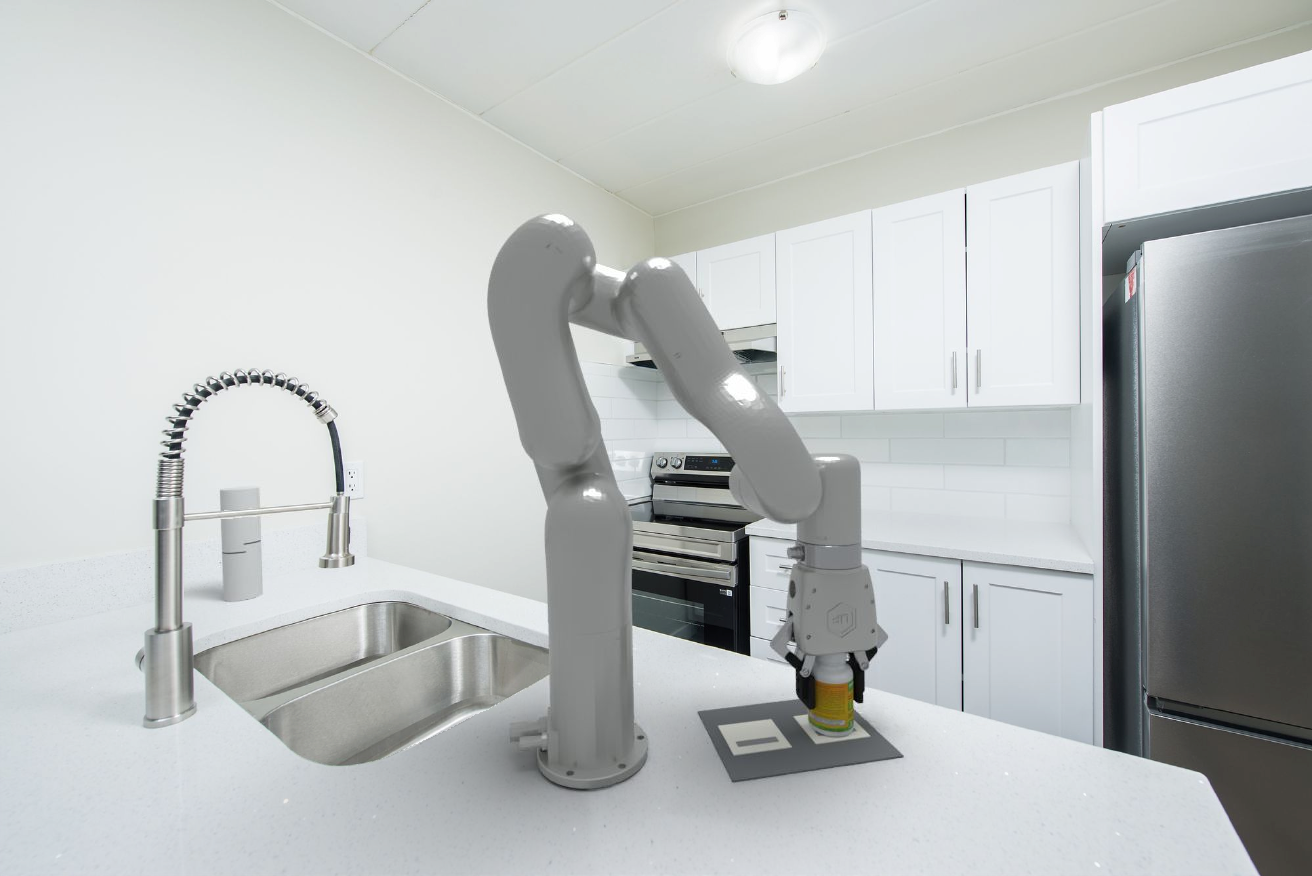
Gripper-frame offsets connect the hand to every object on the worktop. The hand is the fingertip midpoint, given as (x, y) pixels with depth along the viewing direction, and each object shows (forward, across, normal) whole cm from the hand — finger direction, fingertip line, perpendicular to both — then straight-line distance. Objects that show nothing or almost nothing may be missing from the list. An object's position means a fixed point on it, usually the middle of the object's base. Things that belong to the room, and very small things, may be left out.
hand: (830, 699), depth 65 cm
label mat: (+4, -5, 0) cm, 6 cm away
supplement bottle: (+3, 0, 0) cm, 3 cm away
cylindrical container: (+4, -104, +78) cm, 130 cm away
